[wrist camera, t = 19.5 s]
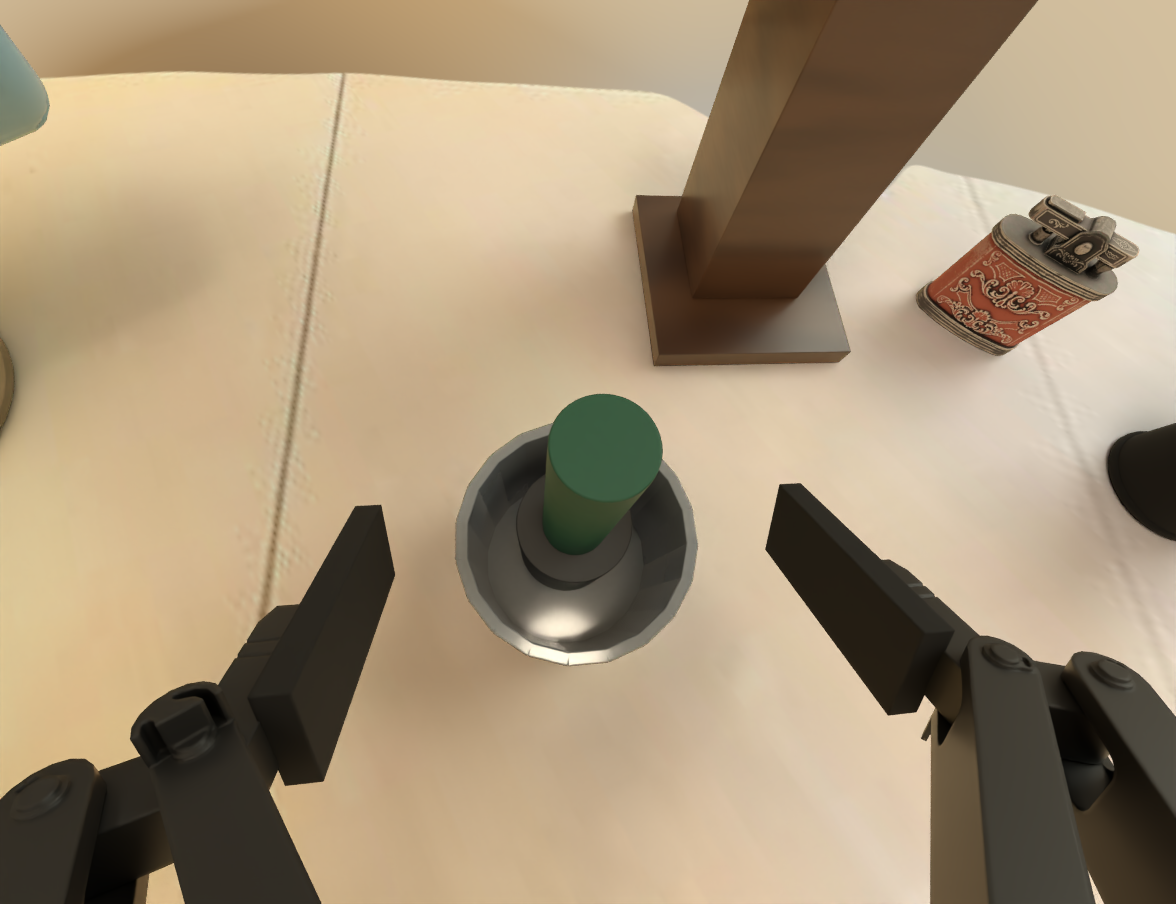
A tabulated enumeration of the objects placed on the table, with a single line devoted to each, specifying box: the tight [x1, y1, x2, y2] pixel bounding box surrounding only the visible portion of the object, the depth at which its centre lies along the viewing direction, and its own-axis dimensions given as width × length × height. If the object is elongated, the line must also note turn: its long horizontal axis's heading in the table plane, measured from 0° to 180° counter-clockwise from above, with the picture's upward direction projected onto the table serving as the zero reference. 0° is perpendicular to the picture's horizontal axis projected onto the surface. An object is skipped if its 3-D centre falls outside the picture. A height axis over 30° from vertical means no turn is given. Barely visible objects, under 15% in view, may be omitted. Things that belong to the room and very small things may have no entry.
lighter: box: [917, 195, 1139, 356], centre depth 33 cm, size 8×3×10 cm, turn 53°
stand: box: [633, 0, 1038, 366], centre depth 22 cm, size 15×14×31 cm
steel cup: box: [455, 423, 698, 666], centre depth 24 cm, size 10×10×10 cm
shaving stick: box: [516, 394, 663, 591], centre depth 20 cm, size 17×5×5 cm
